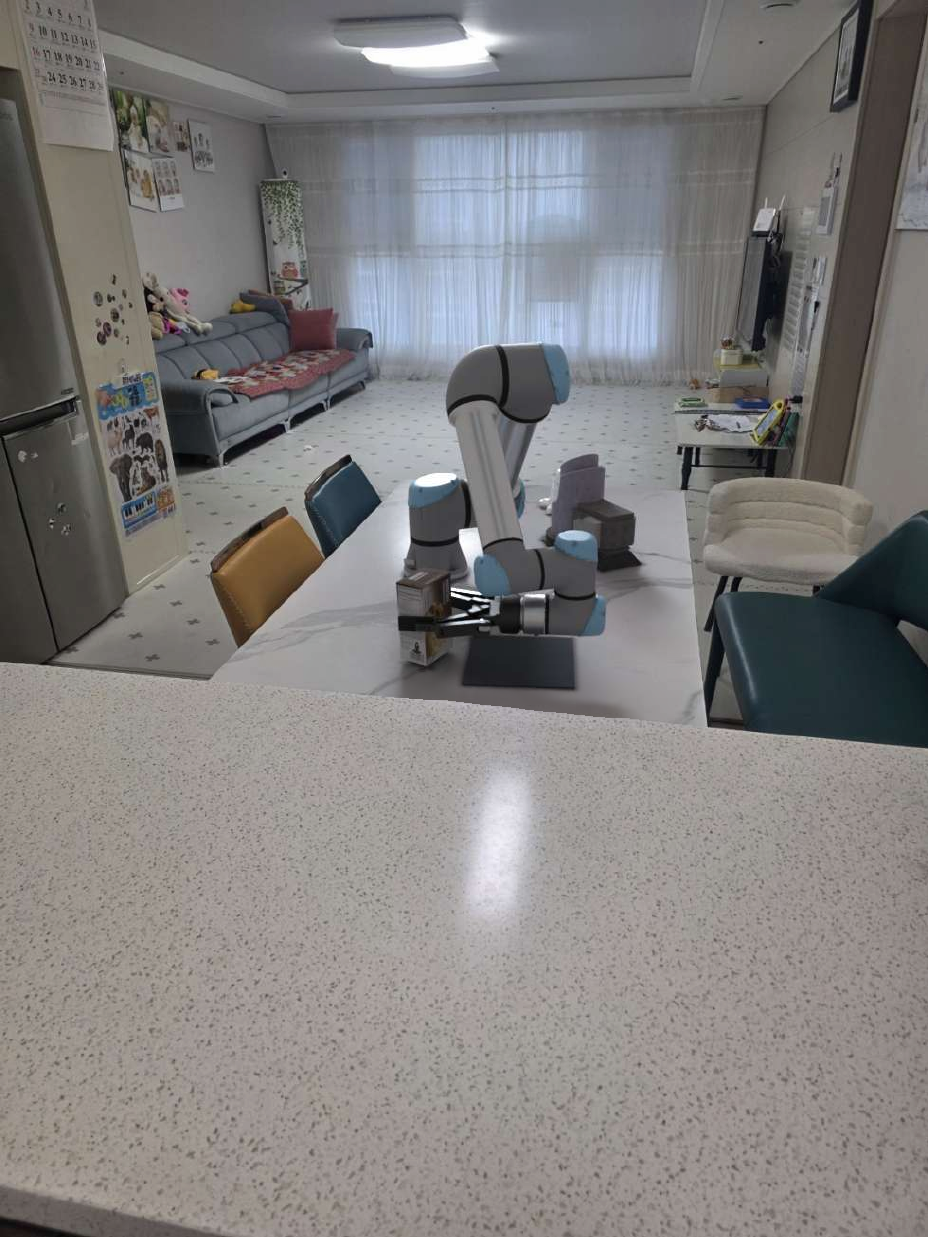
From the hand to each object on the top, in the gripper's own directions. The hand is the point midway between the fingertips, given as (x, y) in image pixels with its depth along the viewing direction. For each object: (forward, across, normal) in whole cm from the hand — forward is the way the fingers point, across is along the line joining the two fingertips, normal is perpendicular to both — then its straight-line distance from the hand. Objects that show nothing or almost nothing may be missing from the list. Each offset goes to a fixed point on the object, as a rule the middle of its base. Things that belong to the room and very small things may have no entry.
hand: (403, 610), depth 155 cm
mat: (-22, 0, -10) cm, 24 cm away
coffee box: (-4, 0, -9) cm, 10 cm away
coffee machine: (-37, +62, -10) cm, 73 cm away
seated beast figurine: (-28, +96, -10) cm, 101 cm away
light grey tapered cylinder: (-11, +19, -10) cm, 24 cm away
